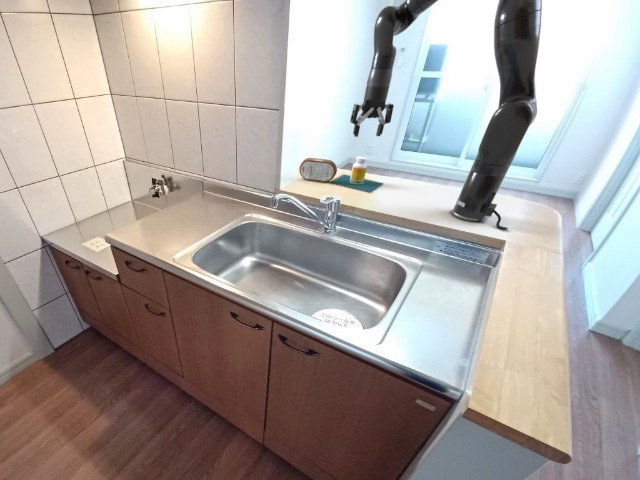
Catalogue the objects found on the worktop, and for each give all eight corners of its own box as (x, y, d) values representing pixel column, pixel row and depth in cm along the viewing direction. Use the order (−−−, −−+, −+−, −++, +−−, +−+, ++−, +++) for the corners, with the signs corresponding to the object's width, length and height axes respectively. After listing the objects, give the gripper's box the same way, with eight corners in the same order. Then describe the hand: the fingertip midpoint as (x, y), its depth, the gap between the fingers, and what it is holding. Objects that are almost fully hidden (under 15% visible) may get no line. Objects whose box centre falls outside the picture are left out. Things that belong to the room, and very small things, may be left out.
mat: (382, 183, 132) (382, 183, 131) (369, 192, 124) (369, 191, 124) (344, 175, 140) (344, 174, 140) (329, 182, 132) (329, 182, 132)
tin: (335, 181, 133) (338, 160, 128) (333, 183, 131) (337, 162, 125) (299, 177, 138) (301, 156, 133) (297, 179, 136) (299, 158, 130)
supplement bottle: (364, 185, 130) (370, 159, 124) (351, 184, 130) (356, 159, 124) (361, 180, 134) (366, 155, 128) (348, 180, 134) (353, 155, 128)
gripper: (362, 85, 108) (352, 138, 118) (403, 85, 108) (389, 138, 118) (354, 83, 113) (345, 134, 123) (393, 83, 114) (381, 133, 124)
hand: (367, 136), depth 121 cm, fingers open, 8 cm apart
